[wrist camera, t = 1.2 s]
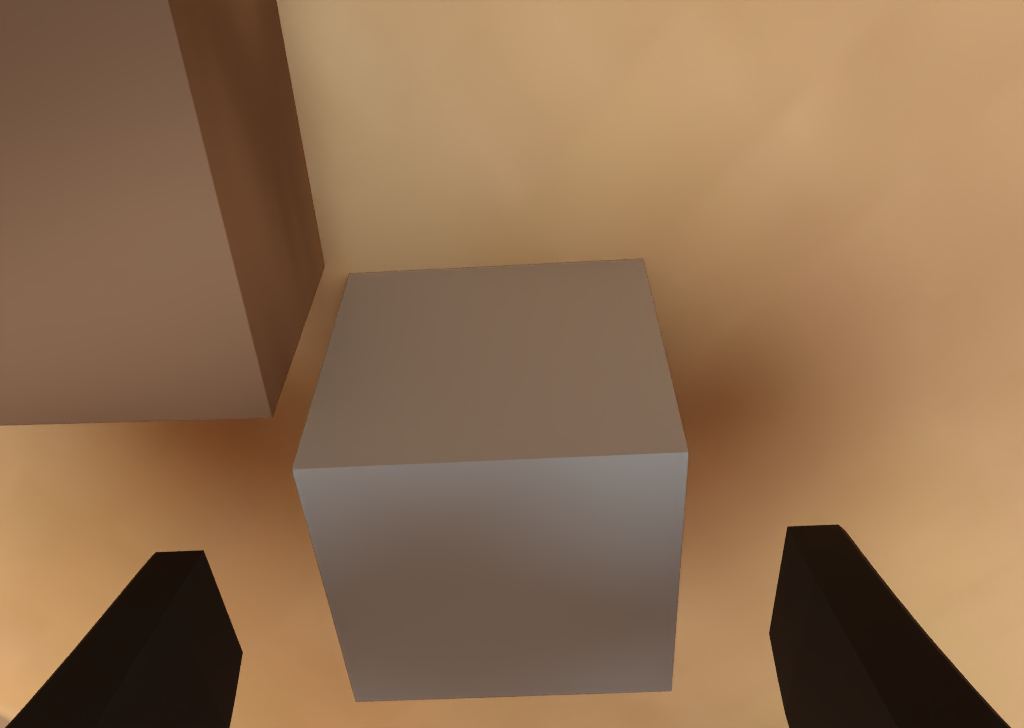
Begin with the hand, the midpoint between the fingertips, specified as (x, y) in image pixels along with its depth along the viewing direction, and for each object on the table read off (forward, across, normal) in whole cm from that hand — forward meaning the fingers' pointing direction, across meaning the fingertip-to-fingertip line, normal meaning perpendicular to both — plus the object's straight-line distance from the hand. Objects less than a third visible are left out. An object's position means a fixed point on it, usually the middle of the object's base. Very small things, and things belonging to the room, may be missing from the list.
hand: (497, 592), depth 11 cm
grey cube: (+5, 0, 0) cm, 5 cm away
